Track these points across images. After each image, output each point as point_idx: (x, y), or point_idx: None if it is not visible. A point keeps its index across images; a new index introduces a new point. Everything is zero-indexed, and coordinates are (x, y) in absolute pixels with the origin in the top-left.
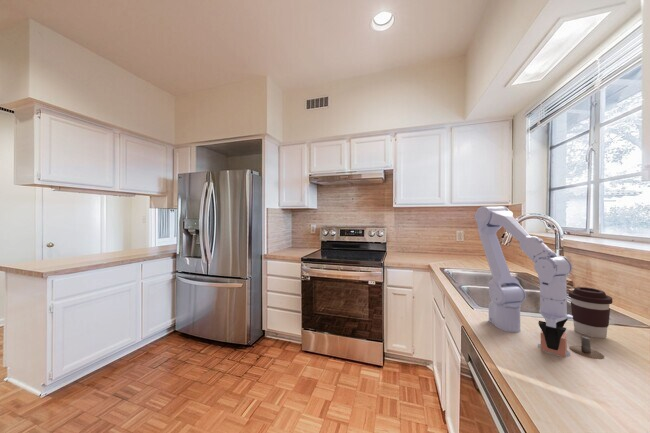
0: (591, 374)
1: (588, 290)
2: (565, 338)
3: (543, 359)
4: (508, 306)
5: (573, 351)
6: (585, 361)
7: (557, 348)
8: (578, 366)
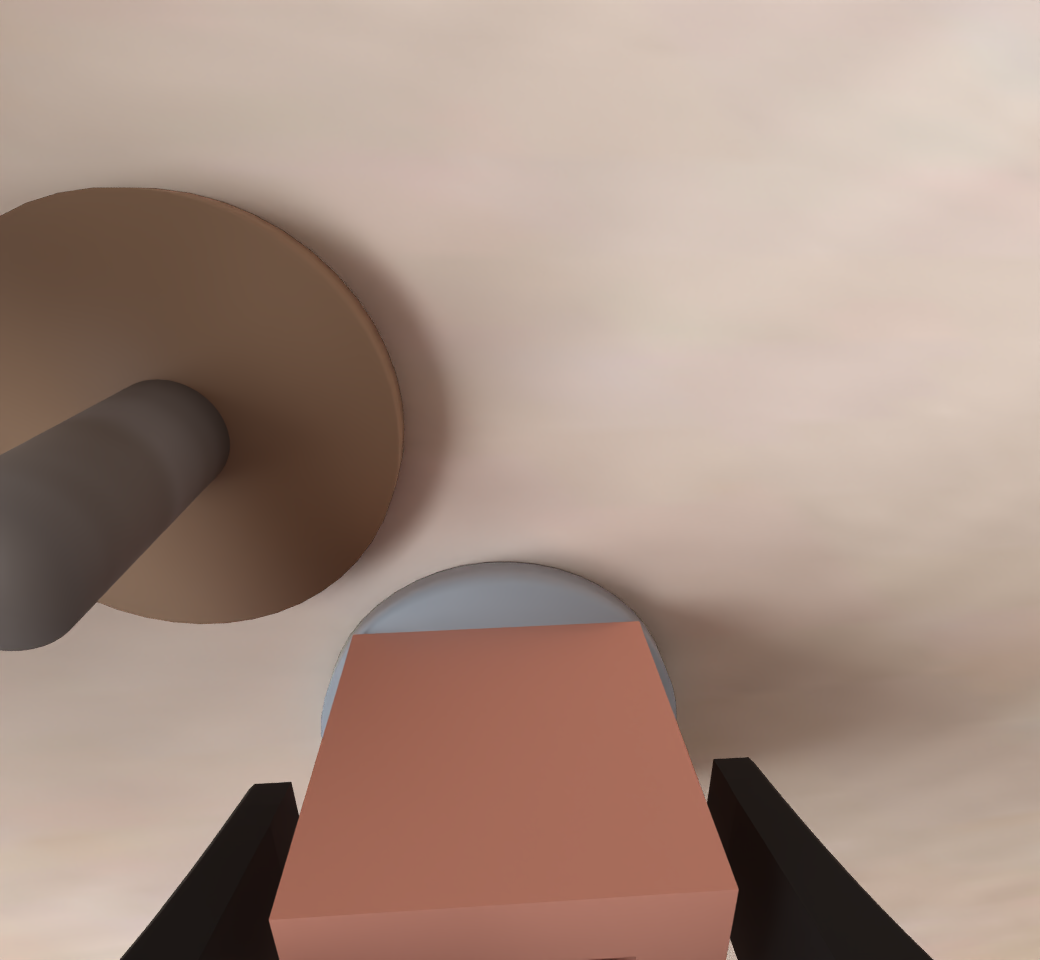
0: (870, 341)
1: None
2: (671, 886)
3: (791, 746)
4: None
5: (337, 567)
6: (473, 415)
7: (769, 786)
8: (721, 473)
